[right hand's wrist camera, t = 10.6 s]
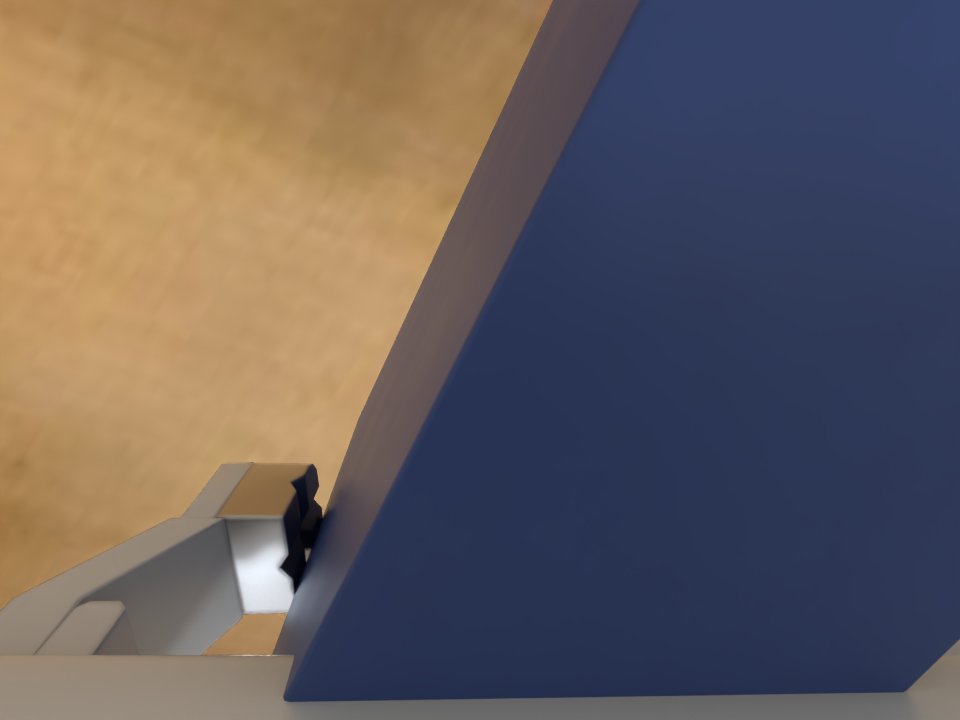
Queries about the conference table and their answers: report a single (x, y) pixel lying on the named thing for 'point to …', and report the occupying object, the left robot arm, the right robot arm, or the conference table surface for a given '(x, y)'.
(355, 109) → the conference table surface
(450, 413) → the bar
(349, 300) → the conference table surface
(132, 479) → the conference table surface
